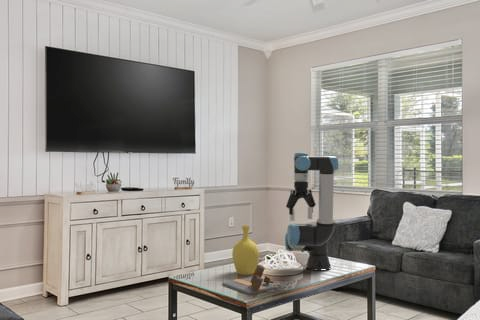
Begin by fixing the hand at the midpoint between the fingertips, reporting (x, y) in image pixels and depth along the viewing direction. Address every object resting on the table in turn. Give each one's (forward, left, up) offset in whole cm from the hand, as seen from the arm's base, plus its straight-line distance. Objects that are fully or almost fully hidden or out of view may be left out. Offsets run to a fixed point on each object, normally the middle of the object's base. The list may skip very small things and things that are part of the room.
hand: (301, 219), depth 249 cm
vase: (+9, -38, -35) cm, 52 cm away
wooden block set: (+26, -5, -33) cm, 43 cm away
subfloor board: (+27, -12, -35) cm, 46 cm away
